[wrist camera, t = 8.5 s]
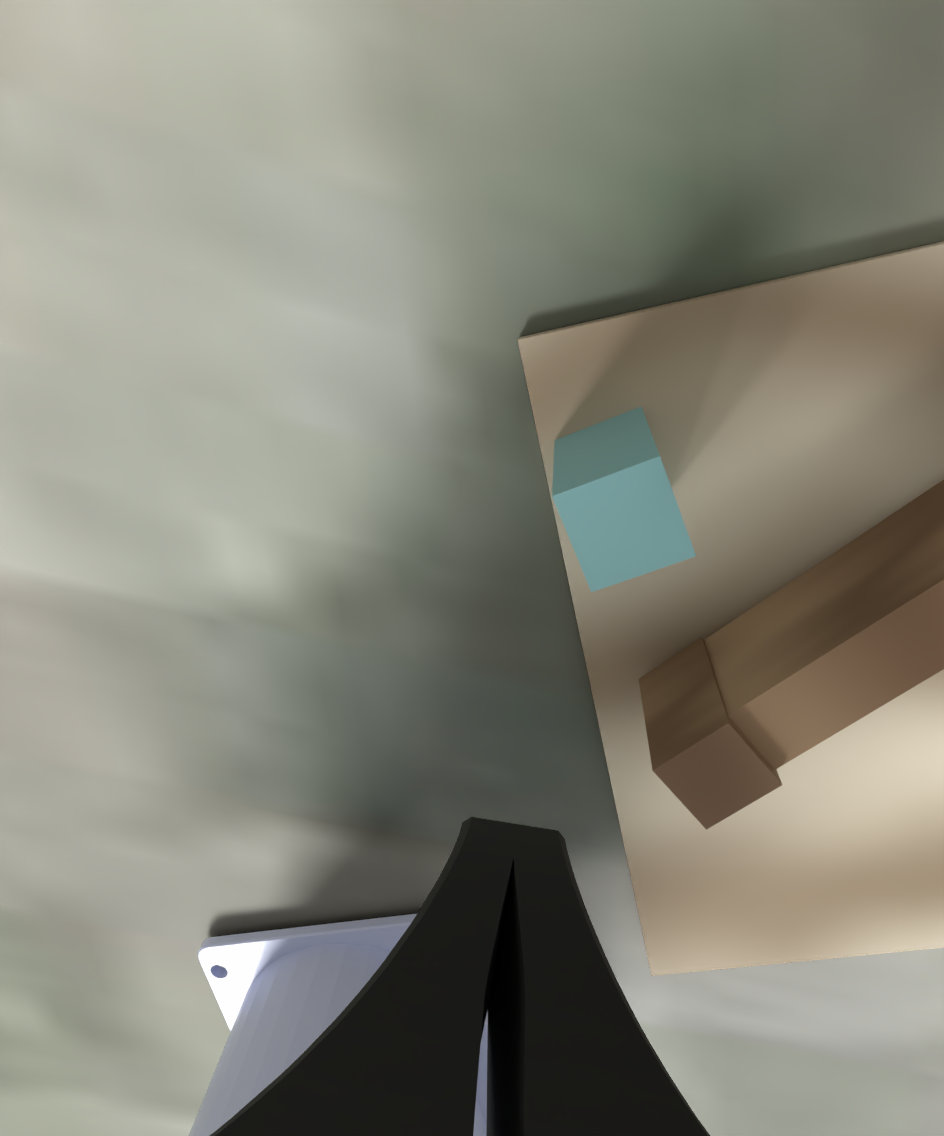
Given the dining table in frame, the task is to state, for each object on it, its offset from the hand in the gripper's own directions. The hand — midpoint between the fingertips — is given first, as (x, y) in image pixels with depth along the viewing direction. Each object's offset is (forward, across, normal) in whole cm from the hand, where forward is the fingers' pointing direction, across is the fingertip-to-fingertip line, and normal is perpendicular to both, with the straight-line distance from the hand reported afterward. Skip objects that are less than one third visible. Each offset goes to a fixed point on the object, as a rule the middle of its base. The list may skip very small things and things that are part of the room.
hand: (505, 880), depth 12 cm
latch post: (+10, -1, -4) cm, 11 cm away
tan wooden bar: (+9, -7, -2) cm, 12 cm away
